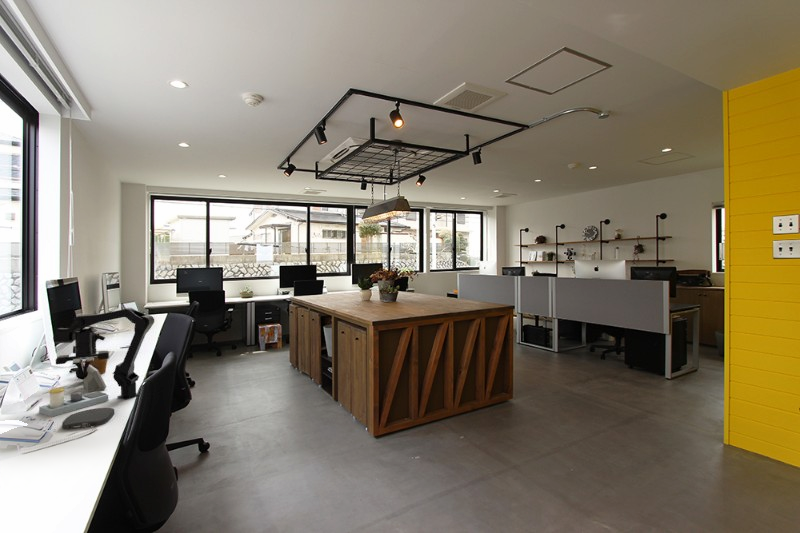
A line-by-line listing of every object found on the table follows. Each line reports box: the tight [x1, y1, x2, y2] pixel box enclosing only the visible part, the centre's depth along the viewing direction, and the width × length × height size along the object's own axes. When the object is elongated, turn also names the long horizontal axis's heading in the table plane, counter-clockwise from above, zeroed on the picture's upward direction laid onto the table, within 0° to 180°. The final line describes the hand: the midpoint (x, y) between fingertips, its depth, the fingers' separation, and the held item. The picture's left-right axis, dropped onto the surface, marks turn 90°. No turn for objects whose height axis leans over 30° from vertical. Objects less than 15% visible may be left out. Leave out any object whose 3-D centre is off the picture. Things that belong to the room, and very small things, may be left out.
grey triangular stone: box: [83, 365, 107, 393], centre depth 193 cm, size 16×9×11 cm, turn 39°
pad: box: [82, 390, 107, 399], centre depth 175 cm, size 7×6×1 cm
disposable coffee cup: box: [91, 350, 108, 375], centre depth 217 cm, size 10×10×12 cm
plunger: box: [70, 391, 83, 402], centre depth 169 cm, size 4×4×3 cm
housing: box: [38, 391, 109, 418], centre depth 169 cm, size 10×21×2 cm, turn 154°
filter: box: [74, 328, 106, 380], centre depth 203 cm, size 14×9×30 cm
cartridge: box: [49, 387, 65, 409], centre depth 163 cm, size 5×5×10 cm
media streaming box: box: [61, 407, 115, 431], centre depth 154 cm, size 15×15×3 cm
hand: (83, 375), depth 176 cm, fingers closed
